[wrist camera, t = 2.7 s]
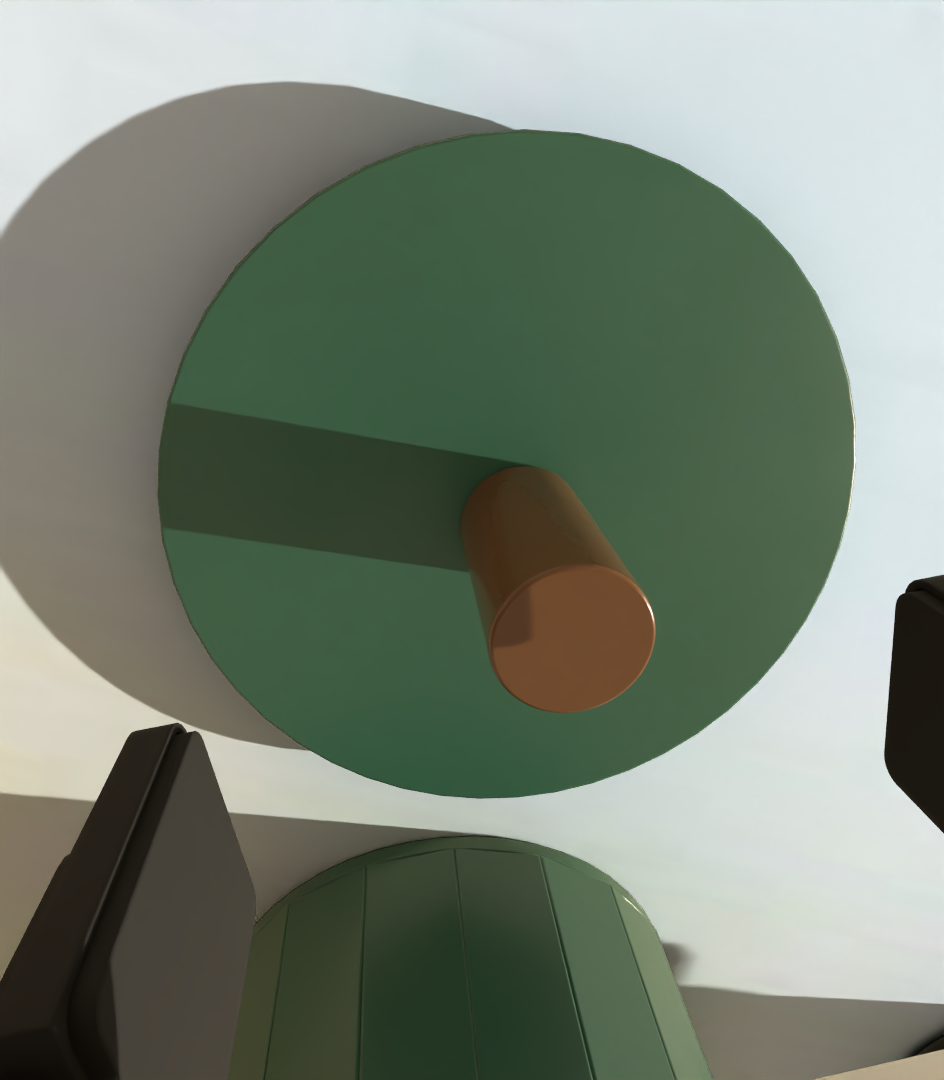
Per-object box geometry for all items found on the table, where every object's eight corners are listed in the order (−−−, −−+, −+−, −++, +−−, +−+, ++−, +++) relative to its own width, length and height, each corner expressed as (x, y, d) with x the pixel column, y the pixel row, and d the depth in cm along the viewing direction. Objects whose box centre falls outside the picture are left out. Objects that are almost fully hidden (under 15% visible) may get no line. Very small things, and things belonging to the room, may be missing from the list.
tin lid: (69, 201, 14) (-151, 185, 8) (844, 81, 14) (1139, -11, 9) (269, 813, 20) (221, 1051, 14) (815, 711, 20) (981, 901, 15)
